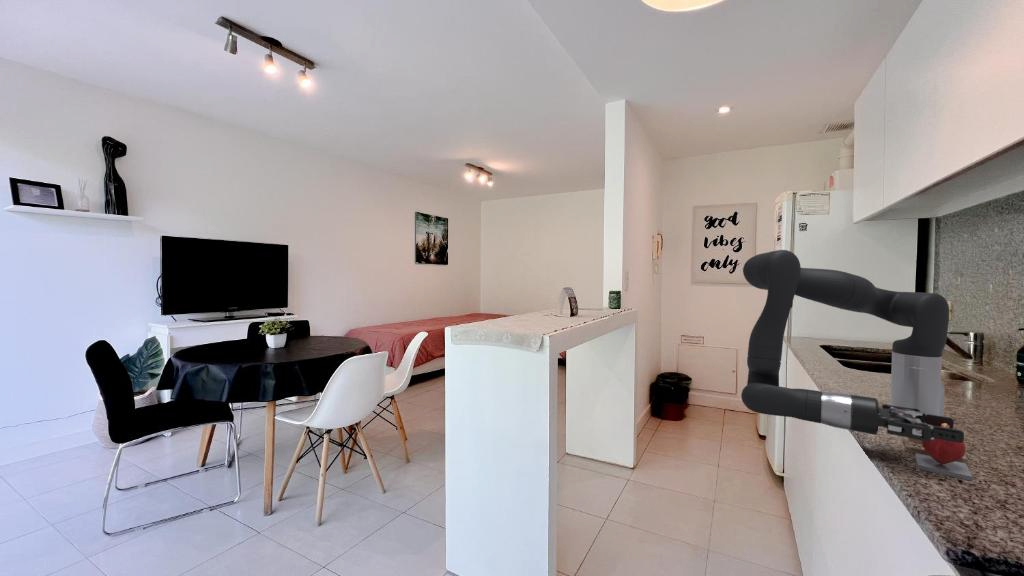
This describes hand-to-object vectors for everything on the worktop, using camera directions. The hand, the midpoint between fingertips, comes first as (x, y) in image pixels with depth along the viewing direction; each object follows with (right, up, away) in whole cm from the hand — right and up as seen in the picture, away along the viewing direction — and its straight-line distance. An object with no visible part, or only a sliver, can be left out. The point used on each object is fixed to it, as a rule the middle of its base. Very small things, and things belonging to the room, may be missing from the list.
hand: (957, 430), depth 78 cm
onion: (-2, -7, +1) cm, 8 cm away
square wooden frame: (+5, -8, +9) cm, 13 cm away
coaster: (-1, -8, +1) cm, 8 cm away
